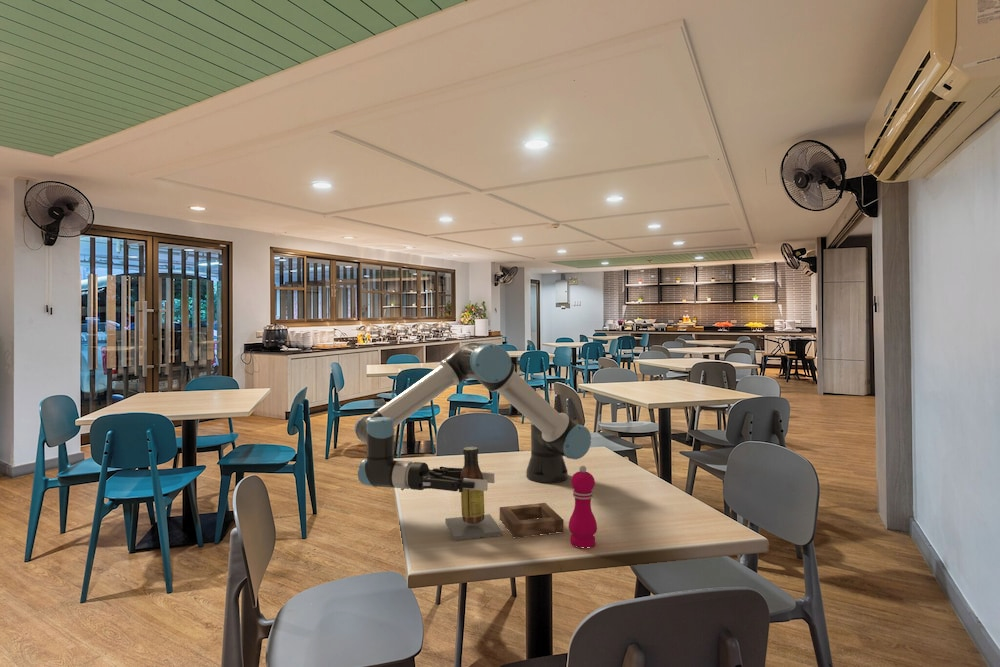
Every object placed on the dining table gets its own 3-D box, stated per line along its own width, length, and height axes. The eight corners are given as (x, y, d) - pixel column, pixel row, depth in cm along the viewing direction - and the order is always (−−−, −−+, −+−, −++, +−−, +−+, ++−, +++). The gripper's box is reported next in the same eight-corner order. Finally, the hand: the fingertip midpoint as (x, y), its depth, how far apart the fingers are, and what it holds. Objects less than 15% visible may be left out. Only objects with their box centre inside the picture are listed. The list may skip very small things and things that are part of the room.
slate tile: (489, 518, 152) (489, 514, 152) (501, 535, 139) (501, 531, 139) (445, 522, 148) (445, 518, 148) (453, 540, 136) (453, 536, 136)
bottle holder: (545, 514, 155) (545, 502, 155) (563, 532, 141) (563, 519, 141) (499, 519, 151) (499, 507, 151) (513, 538, 138) (513, 524, 138)
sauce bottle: (487, 517, 146) (487, 446, 145) (479, 525, 140) (479, 451, 140) (465, 515, 148) (465, 444, 148) (456, 522, 142) (456, 449, 142)
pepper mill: (596, 550, 130) (597, 470, 130) (567, 548, 131) (567, 468, 131) (597, 539, 137) (597, 462, 137) (569, 537, 138) (569, 461, 138)
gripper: (425, 479, 158) (499, 484, 152) (396, 499, 139) (480, 507, 133) (425, 454, 157) (499, 459, 152) (396, 471, 139) (480, 477, 133)
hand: (490, 481), depth 142 cm, fingers open, 6 cm apart
